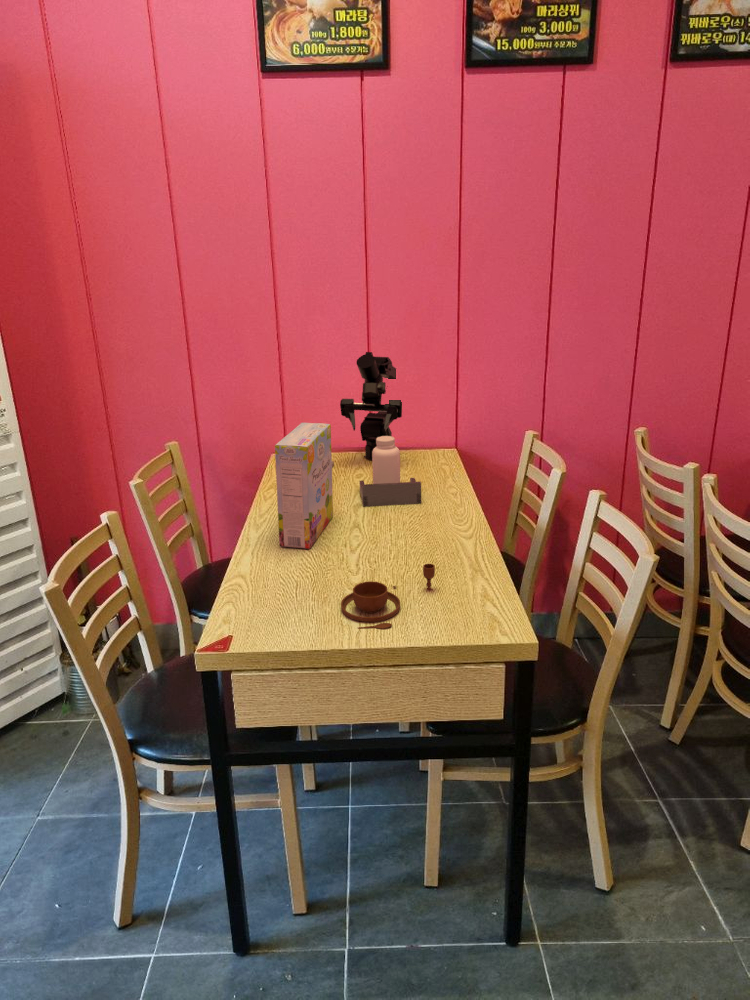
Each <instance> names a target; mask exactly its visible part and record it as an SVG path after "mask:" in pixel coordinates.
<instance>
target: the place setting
mask: <svg viewBox="0 0 750 1000" xmlns="http://www.w3.org/2000/svg"><path fill="white" fill-rule="evenodd" d="M435 570H436V567H435V564H433V563H425V564H423V566H422V571H423V572H422V574H423V578H424V579H426V591H432V588H431V587H432V582H431V581H432V579H434V577H435ZM397 588H398V586H397V585H393V586H392V588H391V589H393V590H396V589H397ZM388 600H389V601H391V602H392V603H393V605H395V609H394V610H393V611H391V612H388V613H386V614H383V615H378V616H360V615H355V614H352V613H350V612H348V610H347V606H348V605H349V604H350V603H351V602H353V603H354V605H355V606H356V608H358V609H360V610H361V611H363V612H365V613H368V614H369V613H372V614H373V613H376V612H379V611H380V610H381V609H382V608H384V607H385V606H386V605H387V603H388ZM340 607H341V611H342V613H343V614H344V615H345V616H346V617H347V618H349V619H351V620H354V621H356V622H361V623H378V622H381V623H378V624H376V625H368V626H362V627H361V626H360V627H359V626H358V627H357V630H363V629H378V630H386V629H388V628H391V627H392V626H393V624H392V623H390V622H383V621H386V620H388V619H391V618H392V617H394V616H396V614H397V613H398V612H399V610H400V608H401V600H400V598H399V597H398V595H396V594H395V593H392V592H390V591H389V589H388V587H387V585H385V584H384V583H382V582H379V581H371V580H370V581H363V582H359V583H358V584H356V585H355V586H354V587H353V588H352V592H351V593H348V594H346V595H345V596H344V597H343V599H342V600H341V602H340ZM382 622H383V623H382Z"/></svg>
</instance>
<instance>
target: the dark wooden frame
mask: <svg viewBox="0 0 750 1000" xmlns="http://www.w3.org/2000/svg"><path fill="white" fill-rule="evenodd" d="M359 492H360V493H359V494H360V497H361V498H360V499H361V502H362V506H363V507H365V508H367V507H382V506H383V507H385V506H401V505H402V506H403V505H418V504H419V505H420V504H422V482H421V481H417V480H416V478H415V477H410V478H409V481H407V482H406V481H404V482H401V481H400V483H383V484H373V483H370V484H365V481H364V480H359Z"/></svg>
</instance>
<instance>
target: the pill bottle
mask: <svg viewBox="0 0 750 1000" xmlns="http://www.w3.org/2000/svg"><path fill="white" fill-rule="evenodd" d="M376 444H377V447H375V448H374V449H373V451H372V484H383V483H401V452H400V449H399V448H398V447H397V446H396V439H395V437H394V436H393V435H392V436H381V437H378V438H377V439H376Z"/></svg>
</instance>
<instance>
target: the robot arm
mask: <svg viewBox="0 0 750 1000" xmlns="http://www.w3.org/2000/svg"><path fill="white" fill-rule="evenodd" d="M356 366H357V368H358V371H359V374H360V376H361V379H363V380H364V382H363V383H362V392H361V402H355V399H354V398H342V399H341V400H340V402H339V403H340V404H339V406H340V413H341V416H342V417H345V419H349V421H350V423H351V425H352V426H351V428H352V430H353V432H354V431H356V417H355V414H356V413H355V411H365V412H369V413H367V414H366V416H365V417H364V419H363V421H362V422H361V423H360V427H359V428H360V431H359V432H360V436H361V440H362V441H363V442H364V441H365V442H366V443H365V444H366V445H365V446H364V447H365V455H363V458H364V459H367V460H369V461H372V451H373V449H374V448H375V447H377V444H376V439H377V438H378V437H381V436H392V437H393V435H392V432H393V431H392V430H391V428H390V425H391V424H392V423H393V422H394V421H395V420H398V419H399V418H402V417H403V409H402V402H401V400H389V404H385V403H384V404H382V397H383V396H382V395H386V387H387V386H386V382H385V381H384V379H385V378H388V379H396V369H397V367H395V366H394V365H393V361H392V359H391V358H390V357H388V356H374V354H373V352H372V351H366V352H365V354H362V355H360V356H359V357H358V359H356Z"/></svg>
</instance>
